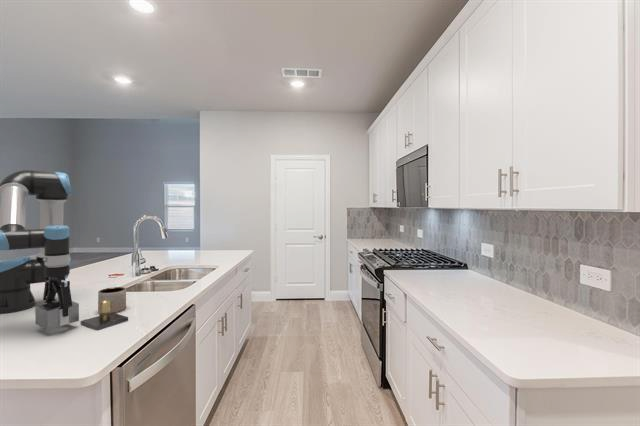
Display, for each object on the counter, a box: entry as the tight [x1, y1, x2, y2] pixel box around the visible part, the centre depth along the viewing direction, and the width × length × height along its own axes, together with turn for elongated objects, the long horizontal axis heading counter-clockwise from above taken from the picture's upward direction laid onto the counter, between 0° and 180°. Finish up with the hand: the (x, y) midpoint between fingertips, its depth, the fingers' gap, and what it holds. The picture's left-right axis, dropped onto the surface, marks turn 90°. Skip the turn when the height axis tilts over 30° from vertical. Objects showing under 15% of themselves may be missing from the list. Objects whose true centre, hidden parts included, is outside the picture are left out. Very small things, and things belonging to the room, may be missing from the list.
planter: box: [97, 286, 127, 314], centre depth 144 cm, size 11×11×10 cm
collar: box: [34, 300, 80, 330], centre depth 122 cm, size 10×10×7 cm
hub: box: [80, 300, 129, 331], centre depth 129 cm, size 12×12×9 cm
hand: (57, 321), depth 122 cm, fingers closed on collar, 10 cm apart
